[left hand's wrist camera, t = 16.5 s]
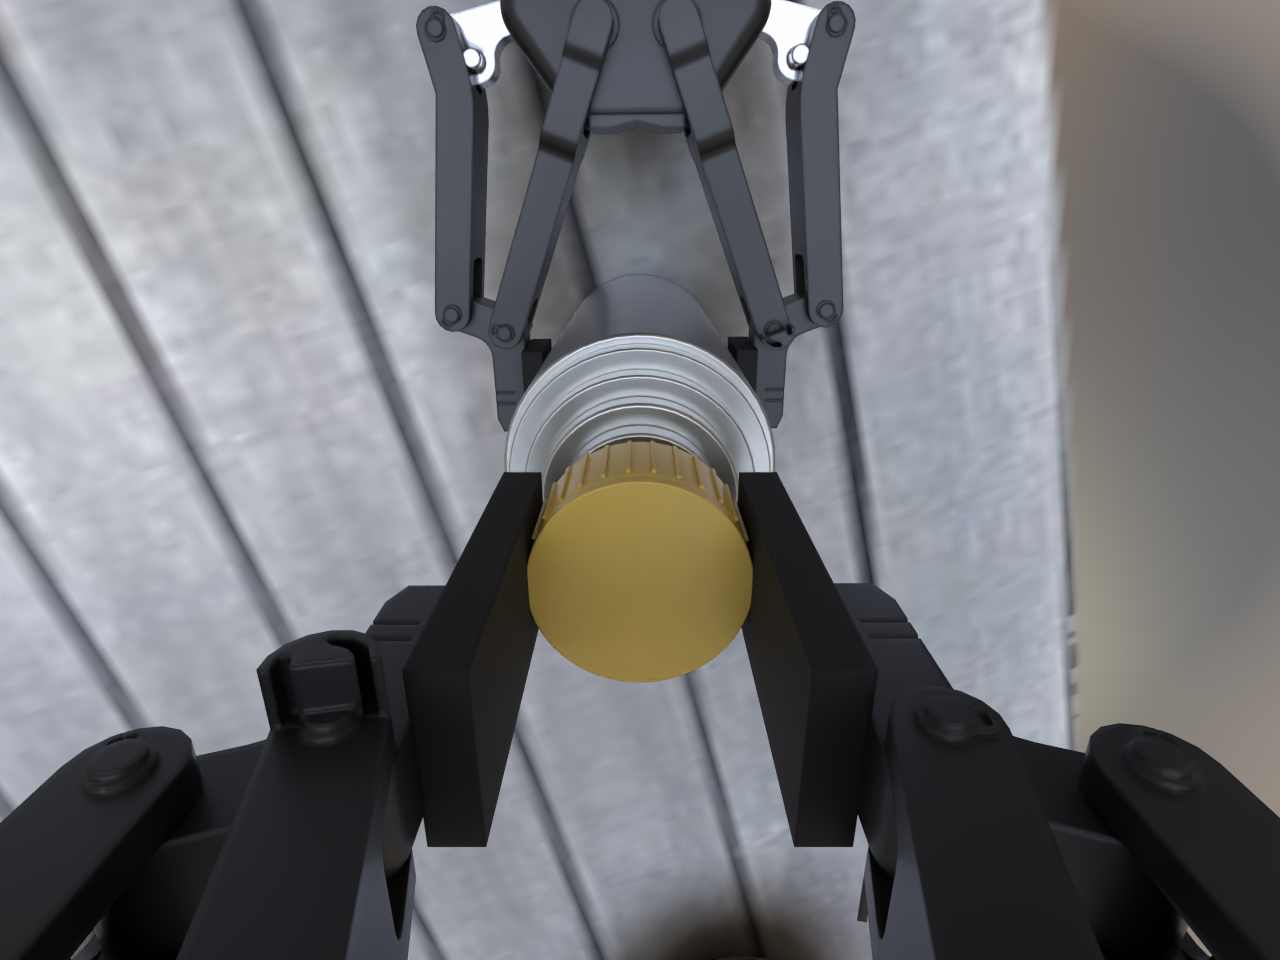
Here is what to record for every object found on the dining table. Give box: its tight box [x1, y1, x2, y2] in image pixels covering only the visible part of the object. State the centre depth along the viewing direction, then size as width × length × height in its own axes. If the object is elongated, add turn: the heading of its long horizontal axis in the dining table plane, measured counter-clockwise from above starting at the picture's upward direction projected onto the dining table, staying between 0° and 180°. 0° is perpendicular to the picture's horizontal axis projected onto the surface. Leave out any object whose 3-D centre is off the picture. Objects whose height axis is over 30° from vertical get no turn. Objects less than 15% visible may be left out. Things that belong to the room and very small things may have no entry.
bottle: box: [504, 274, 775, 503], centre depth 23 cm, size 7×7×22 cm
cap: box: [527, 440, 753, 682], centre depth 13 cm, size 4×4×2 cm
